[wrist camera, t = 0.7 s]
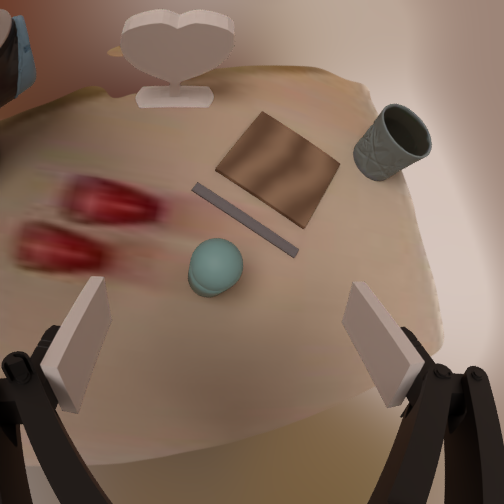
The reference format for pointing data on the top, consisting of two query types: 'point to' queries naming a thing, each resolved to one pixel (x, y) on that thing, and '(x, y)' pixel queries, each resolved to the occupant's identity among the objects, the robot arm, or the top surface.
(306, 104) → the top surface
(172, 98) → the heart sculpture
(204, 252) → the teal domed cylinder
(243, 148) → the board
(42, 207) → the top surface
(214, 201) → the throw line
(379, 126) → the grey textured cup
